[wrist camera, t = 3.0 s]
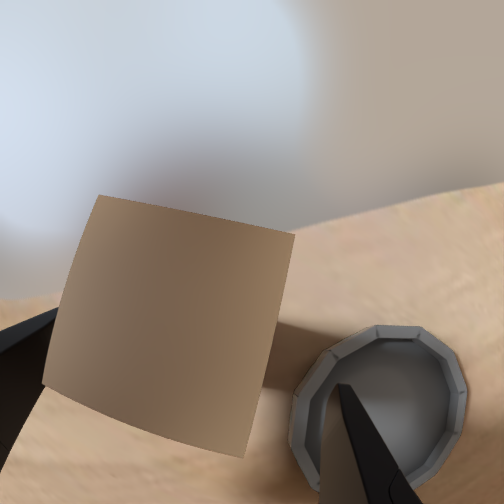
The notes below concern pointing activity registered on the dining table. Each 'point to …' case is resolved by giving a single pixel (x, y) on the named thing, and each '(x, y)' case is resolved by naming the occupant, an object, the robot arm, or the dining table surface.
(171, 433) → the walnut post
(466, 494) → the dining table surface
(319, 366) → the dish
